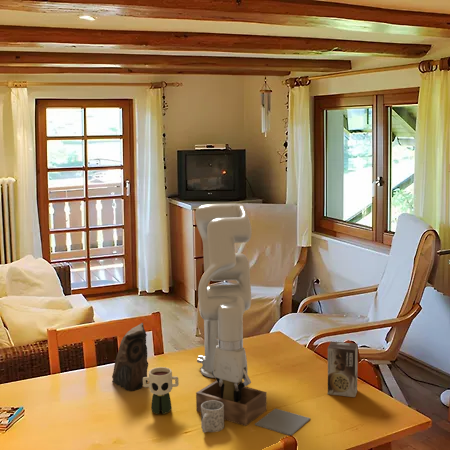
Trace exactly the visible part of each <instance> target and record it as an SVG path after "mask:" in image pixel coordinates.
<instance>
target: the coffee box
mask: <svg viewBox="0 0 450 450" xmlns="http://www.w3.org/2000/svg"><path fill="white" fill-rule="evenodd" d="M358 347H359V343H354V342H344V341H343V342H342V341H332V340H331V341H330V342H329V345H328V347H327V395H332V396H340V397H341V396H343V397H348V398H349V397H351V398H356V395H357V393H358V365H359V364H358V363H359V362H358V360H359V359H358V356H359V354H358V352H359V349H358Z"/></svg>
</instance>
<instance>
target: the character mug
mask: <svg viewBox="0 0 450 450" xmlns="http://www.w3.org/2000/svg"><path fill="white" fill-rule="evenodd" d="M146 380H147V381H148V383H147V382H146ZM174 380H175V381H174ZM173 381H174V383H173ZM179 383H180V382H179V377H178V376H177V375H176V376H173V371H172V369H171V368H170V367H167V366H165V367H164V366H157V367H154V368H151V369H150V370H149V371H148V376H147V377H143V387H144V388H149V389H148V390H149V392H150V393H151V394H152V398H151V409H150V410H151V412H152V413H154V414H157V415H159V414H160V412H161V414H162V415H164V414H168V413H169V412H171V410H172V409H173V408H172V407H173V406H172V400H171V395H170V393H171V392H172V389H173V388H176V387H179Z"/></svg>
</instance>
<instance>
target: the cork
mask: <svg viewBox="0 0 450 450" xmlns="http://www.w3.org/2000/svg"><path fill="white" fill-rule="evenodd" d="M223 383H224V392H223V399H226V400H230V401H233V402H234V390H235V385H234V384H235V383H233V382H229V381H226V380H223ZM237 403H240V401H238V402H237Z"/></svg>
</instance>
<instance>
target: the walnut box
mask: <svg viewBox="0 0 450 450" xmlns="http://www.w3.org/2000/svg"><path fill="white" fill-rule="evenodd" d="M267 395H268V394H267V391H263V390H260V389H256V388H253V387H249V386H244V387H243V388H242V398H241V400H240V403H237V402H233V401H230V400H226V399H223V398H221V387H220V386H219V383H218V381H217V380H215V381H213V382H212V383H210V384H208V385H207V386H205V387H203V388H201V389H199V390H198V391H196V392H195V398H196V399H195V400H196V401H195V402H196V404H195V405H196V406H195V407H196V408H195V409H196V412H199V413H201V404H202V403H204V402H206V401H220V402H222V403H223V404H224V421H229V422H232V423H234V424H237V425H241V426H244V427H246V426H247V425H249V424H250V423H253V421H254V420H256V419H257V418H258V417H260V416H261V415H262V414H264V413H265V412H266V411H267V407H268V406H267V402H268V401H267Z"/></svg>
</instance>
